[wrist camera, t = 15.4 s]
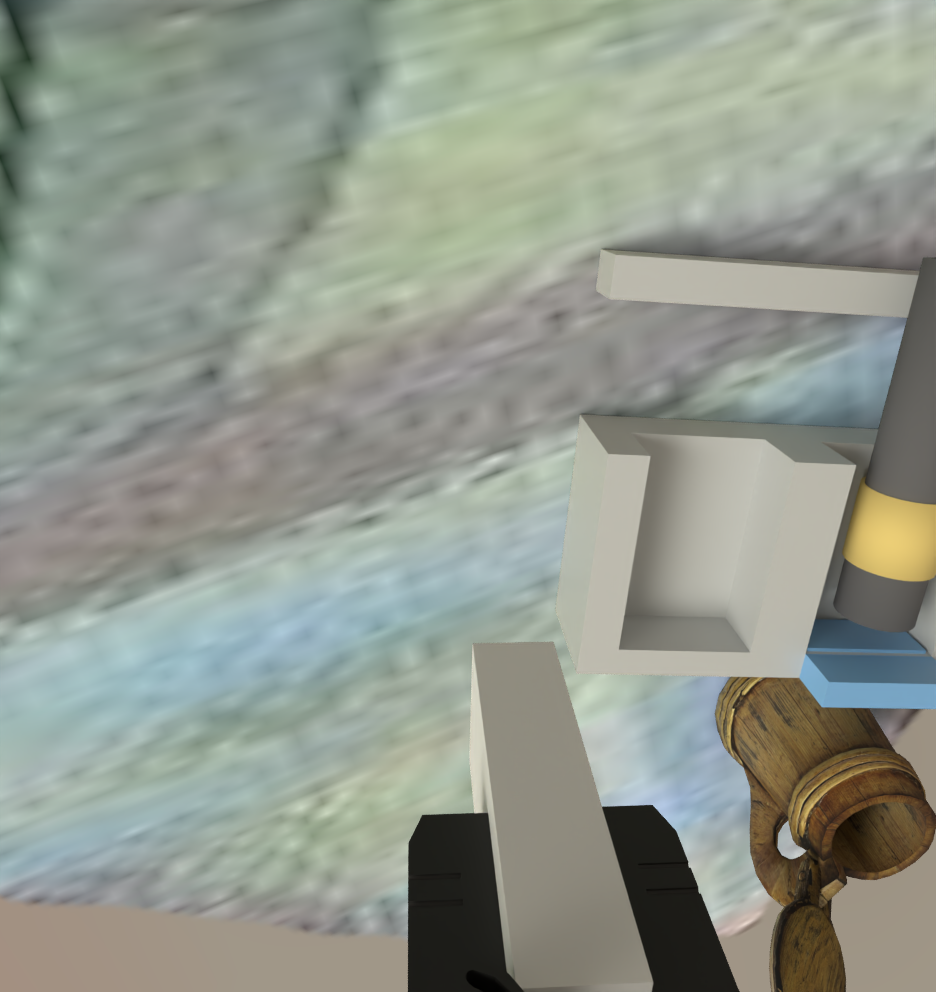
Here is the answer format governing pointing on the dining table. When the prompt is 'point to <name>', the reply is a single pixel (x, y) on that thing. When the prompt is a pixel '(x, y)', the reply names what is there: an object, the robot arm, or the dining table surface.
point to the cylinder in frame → (732, 516)
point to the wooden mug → (818, 814)
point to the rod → (898, 487)
